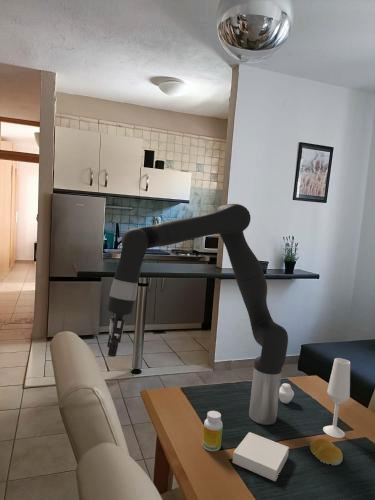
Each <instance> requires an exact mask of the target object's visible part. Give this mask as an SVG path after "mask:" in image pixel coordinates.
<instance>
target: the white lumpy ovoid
mask: <svg viewBox="0 0 375 500" xmlns="http://www.w3.org/2000/svg"><path fill="white" fill-rule="evenodd" d="M294 396H295V392H294V390H293V389H292V386H291V385H290V384H289V383H287V382H285V383H282V384H281V385H280V390H279V400H280V402H281V403H282V404H289V403H290V402H291V400H292V399H293V397H294Z"/></svg>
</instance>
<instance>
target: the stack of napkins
mask: <svg viewBox="0 0 375 500" xmlns="http://www.w3.org/2000/svg"><path fill="white" fill-rule="evenodd" d="M289 448H290V447H289V446H287V445H284V444H282V443H278V442H276V441H273V440H271V439H269V438H266V437H263V436H261V435H258V434H256V433H254V432H250V431H249V432H248V433H247V434H246V435H245V437H244V438H243V439H242V441H241V442H240V443H239V444H238V446H237V447H236V449H234V451H233V454H232V464H235V465H237V466H239V467H241V468H243V469H246V470H248V471H251V472H253V473H255V474H256V475H259V476H262V477H264V478H266V479H268V480H270V481H273V482H276V481H277V480H278V477H279V476H278V475H280V474H281V471H282V469H283V468H284V466H285V464H286V462H287V460H288V457H289V451H290V449H289ZM279 473H280V474H279Z"/></svg>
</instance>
